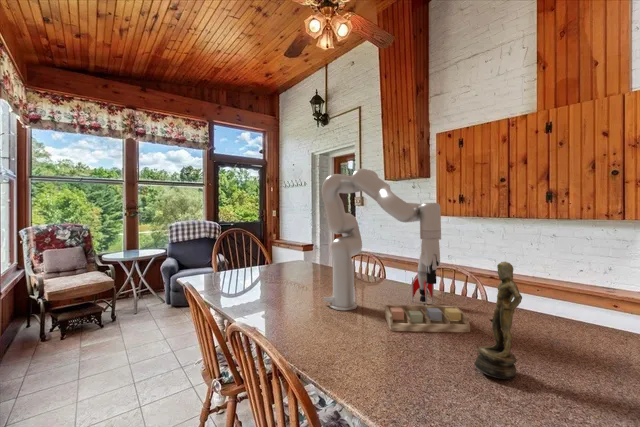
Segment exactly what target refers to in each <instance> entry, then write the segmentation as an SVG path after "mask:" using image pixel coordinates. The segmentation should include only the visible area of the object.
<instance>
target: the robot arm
mask: <svg viewBox="0 0 640 427" xmlns="http://www.w3.org/2000/svg"><path fill="white" fill-rule="evenodd" d="M359 192H362V193H364V194H366V195H367V196H369V198H371V199H373V200H374V201H375V202H376V203H377V205H379V207H380V208H381V209H382V210H384V211H385V213H387V214H388V215H390V216H391V217H392V218H394V219H395V220H396V221H399V222H401V223H406V224H407V223H414V222H419V238H420V240H421V245H420V246H421V248H420V255H421V262H422V263H423V264H424V265H426V271H427V272H428V273H427V283H428V284H433V285H436V284H437V269H438V268H437V267H440V265H441V249H440V248H441V246H440V240H442V217H441V216H442V215H441V214H442V213H441V212H442V211H441V210H442V209H441V205H440V203H438V202H424V203H422V202H421V203H417V202H406V201H405V200H403V199H402V198H400V197H399V196H397V195H396V194H395V193H394V192H393V191H392V190H391V186H390V185H389V184H388V183H387V182H385V181H384V180H382V179H381V178H380V177H379V175H378V174H377V173H376V172H375V170H371V169H366V168H358V169H355V171H354V172H353V174H352V175H347V174H342V173H334V174H331V175H329V176H327V177H326V178H325V179H324V181H323V183H322V186H321V197H322V201H323V203H324V208H325V213H326V218H327V223H328V227H329V230H330V232H331V233H333V234H334V235H342V236H339V237H337V238H335V239H334V240H332V242H331V244H330V254H331V261H332V294H331V295H330V296H322V299H323V302H325V303H329V307H330V308H332V309H333V310H337V311H352V310H355V309H357V307H358V303H357V302H356V301H355V278H354V277H355V276H354V275H355V272H354V270H355V268H354V262H353V259H352V256H353V257H354V256H356V255H358V254H360V253H361V251H362V249H363V240H362V236H361V232H360V226H359V223H358V221H357V218H356V217H355V216H354V215H353V214H352V213H348V212H346V211H345V207H344V206H345V205H344V202H343V200H342V198H341V195H340V194H354V193H359Z"/></svg>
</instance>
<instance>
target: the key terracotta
mask: <svg viewBox="0 0 640 427" xmlns="http://www.w3.org/2000/svg"><path fill="white" fill-rule="evenodd" d="M390 312H391V314H392V319H404V311H403V309H402V308H390Z"/></svg>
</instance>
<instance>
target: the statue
mask: <svg viewBox="0 0 640 427" xmlns="http://www.w3.org/2000/svg"><path fill="white" fill-rule="evenodd" d="M496 267H497V275H498V279H499V280H500V282H499V283H498V285H497V295H496V303H495V304H496V306H495V309H494V311H493V316H492V318H488V320H489V321H490V322H491V323H492V326H491V327H492V334H493V337H494V340H495V344H494V345H481V346H479V347H478V349H477V352H478V353H479V354H478V355H477V356H476V359H475V361H474V366H475V368H477V369H478V370H479V371H481V372H482V373H483V374H485V375H487V376H489V377H494V378H497V379H502V380H510V379H513V378H515V377H516V374H517V367H516V365H515V364H516V363H517V357H516V356H515V354H513V353H511V349H512V345H513V335H512V333H511V332H512V331H511V330H512V326H513V315H514V314H515V310H516V308H518V307H519V305H520V304H521V303H522V299H523V296H522V294H521V293H520V291H519V287H518V285H517V283H516V282H515V281H514V266H513V265H512V264H511V263H510V262H507V261H501V262H500V263H498V264H497V266H496Z"/></svg>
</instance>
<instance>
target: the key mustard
mask: <svg viewBox="0 0 640 427" xmlns="http://www.w3.org/2000/svg"><path fill="white" fill-rule="evenodd" d="M445 315H446V316H447V317H448V318H449V320H461V312H460V311H459V310H458V309H452V308H445Z"/></svg>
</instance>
